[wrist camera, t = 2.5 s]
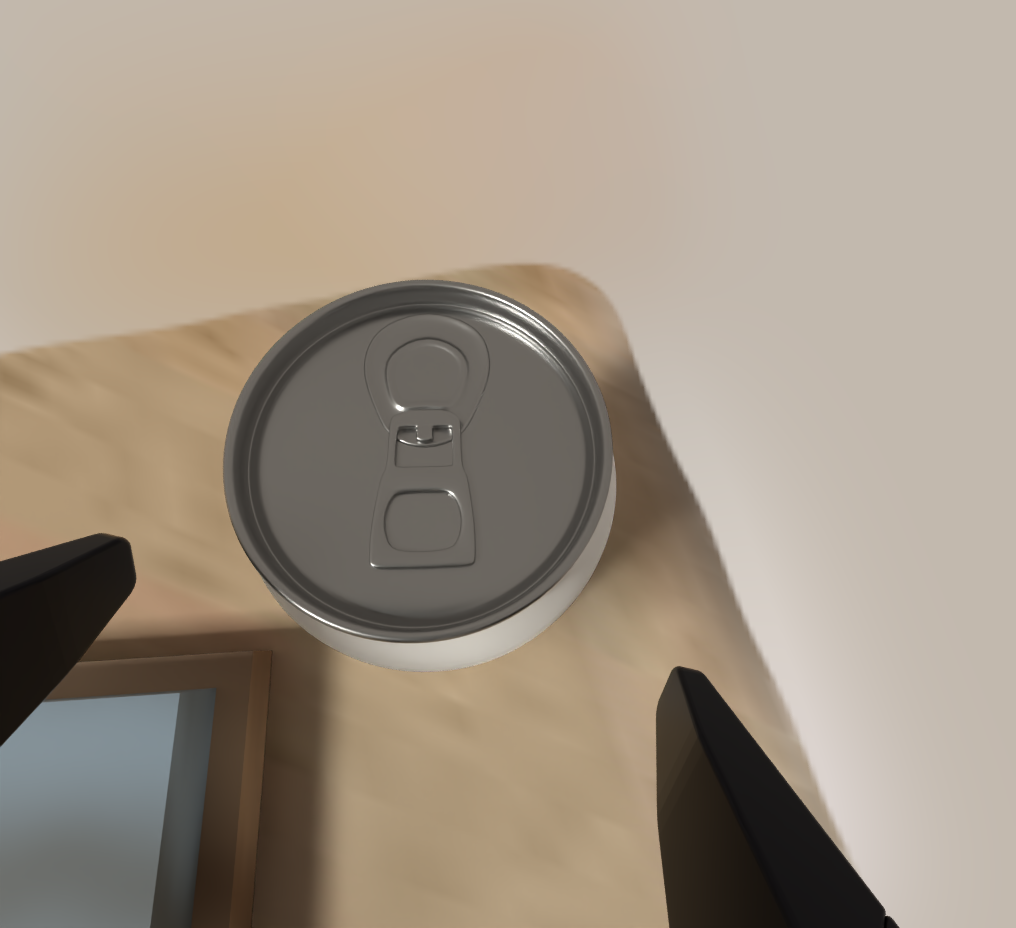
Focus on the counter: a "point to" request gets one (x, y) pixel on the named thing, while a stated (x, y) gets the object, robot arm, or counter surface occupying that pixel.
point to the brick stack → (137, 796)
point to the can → (422, 474)
